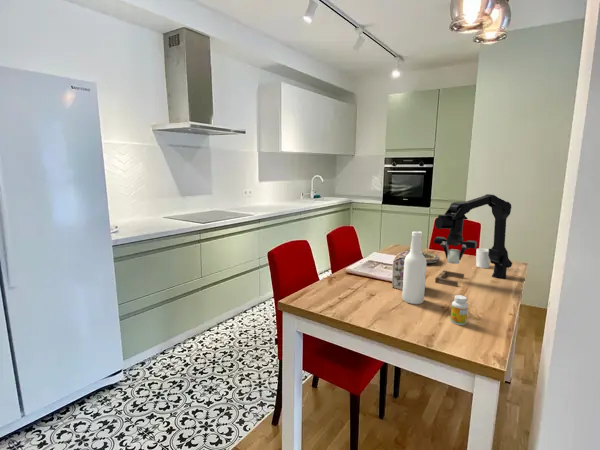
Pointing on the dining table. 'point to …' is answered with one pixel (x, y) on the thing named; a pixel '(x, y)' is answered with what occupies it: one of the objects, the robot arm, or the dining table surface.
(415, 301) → the alcohol
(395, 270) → the decorative jar
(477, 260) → the white cup
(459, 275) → the dock
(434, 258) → the pie
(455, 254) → the white rounded canister
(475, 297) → the dining table surface
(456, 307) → the supplement bottle
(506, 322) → the dining table surface
